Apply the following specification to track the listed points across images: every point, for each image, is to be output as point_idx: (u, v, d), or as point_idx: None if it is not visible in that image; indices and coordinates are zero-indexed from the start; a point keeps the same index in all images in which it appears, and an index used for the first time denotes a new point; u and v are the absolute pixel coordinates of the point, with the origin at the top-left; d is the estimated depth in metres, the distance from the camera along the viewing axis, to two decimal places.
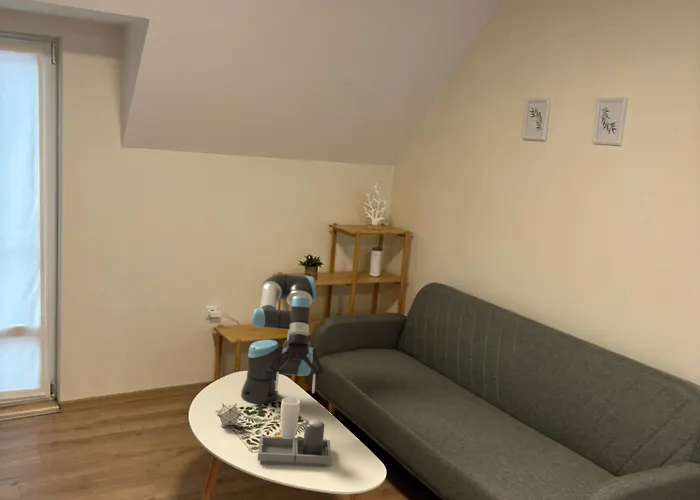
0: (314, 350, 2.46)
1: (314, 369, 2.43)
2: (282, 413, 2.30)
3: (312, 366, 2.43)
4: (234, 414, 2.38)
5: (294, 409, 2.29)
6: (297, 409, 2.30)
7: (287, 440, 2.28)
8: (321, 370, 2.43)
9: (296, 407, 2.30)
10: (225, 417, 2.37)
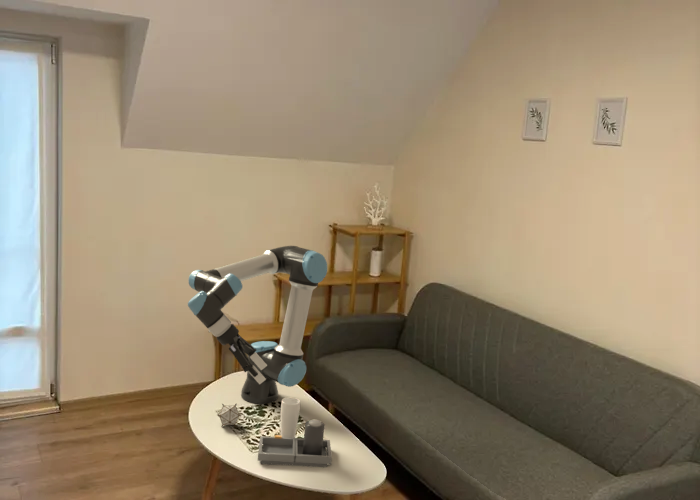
0: None
1: None
2: (282, 413, 2.30)
3: None
4: (234, 414, 2.38)
5: (294, 409, 2.29)
6: (297, 409, 2.30)
7: (287, 440, 2.28)
8: None
9: (296, 407, 2.30)
10: (225, 417, 2.37)
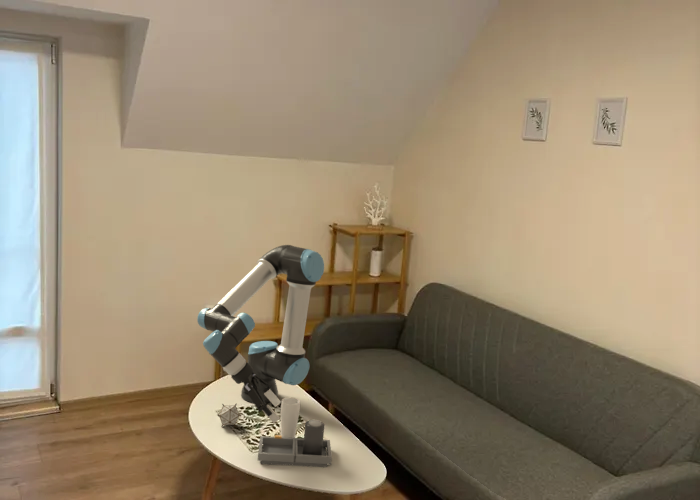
0: None
1: None
2: (282, 413, 2.30)
3: None
4: (234, 414, 2.38)
5: (294, 409, 2.29)
6: (297, 409, 2.30)
7: (287, 440, 2.28)
8: None
9: (296, 407, 2.30)
10: (225, 417, 2.37)
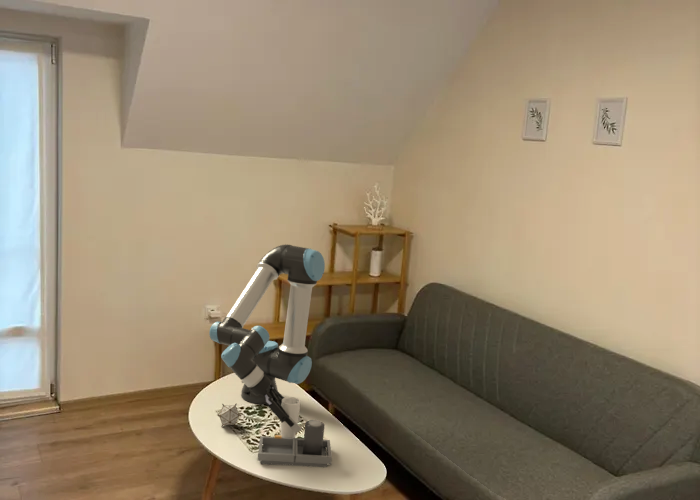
0: None
1: None
2: None
3: None
4: (234, 414, 2.38)
5: (294, 409, 2.29)
6: (297, 409, 2.30)
7: (287, 440, 2.28)
8: None
9: (296, 407, 2.30)
10: (225, 417, 2.37)
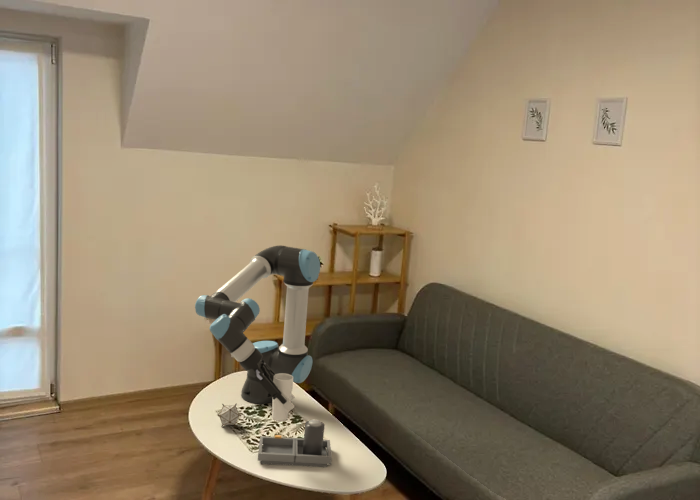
0: None
1: None
2: None
3: None
4: (234, 414, 2.38)
5: (287, 385, 2.16)
6: (290, 385, 2.17)
7: (287, 440, 2.28)
8: None
9: (289, 383, 2.16)
10: (225, 417, 2.37)
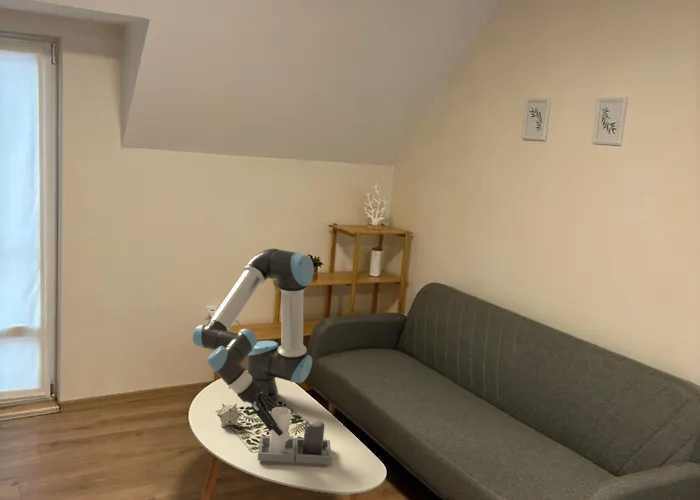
0: None
1: None
2: None
3: None
4: (234, 414, 2.38)
5: (285, 419, 2.18)
6: (287, 420, 2.19)
7: None
8: None
9: (287, 418, 2.18)
10: (225, 417, 2.37)
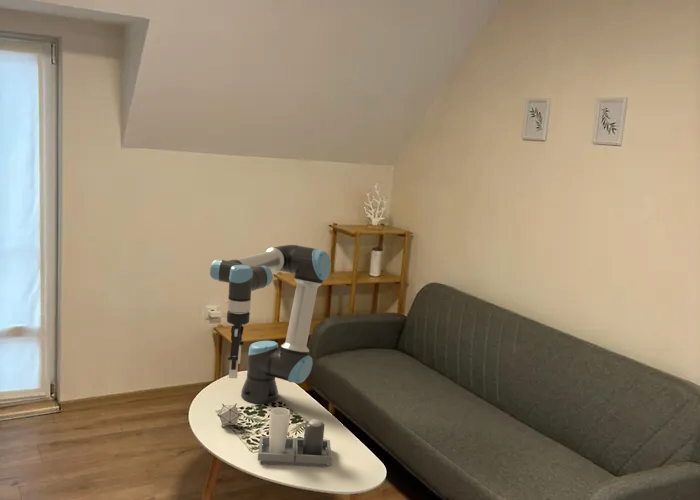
0: (232, 332, 2.15)
1: None
2: (271, 424, 2.18)
3: None
4: (234, 414, 2.38)
5: (284, 420, 2.17)
6: (286, 420, 2.18)
7: (287, 440, 2.28)
8: (230, 357, 2.13)
9: (286, 418, 2.18)
10: (225, 417, 2.37)
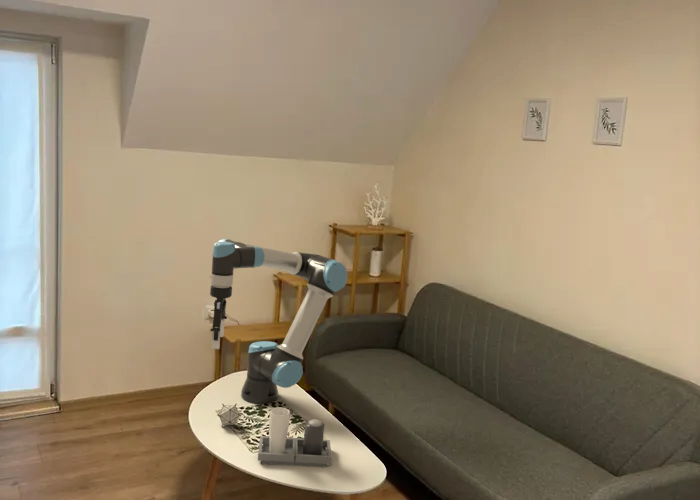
0: (214, 305, 2.26)
1: None
2: (271, 424, 2.19)
3: None
4: (234, 414, 2.38)
5: (284, 420, 2.18)
6: (286, 420, 2.18)
7: (287, 440, 2.28)
8: (212, 328, 2.24)
9: (286, 418, 2.18)
10: (225, 417, 2.37)
